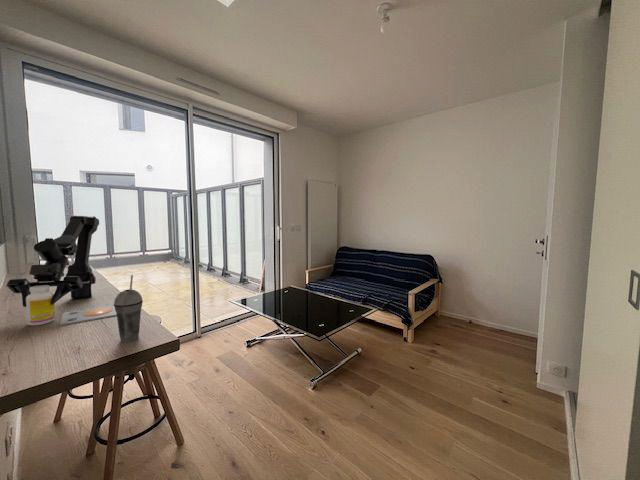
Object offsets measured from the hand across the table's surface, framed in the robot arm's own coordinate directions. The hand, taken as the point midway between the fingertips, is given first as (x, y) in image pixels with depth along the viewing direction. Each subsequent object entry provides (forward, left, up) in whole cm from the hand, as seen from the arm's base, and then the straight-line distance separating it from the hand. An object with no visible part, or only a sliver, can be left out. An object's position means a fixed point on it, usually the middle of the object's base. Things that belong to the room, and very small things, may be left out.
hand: (38, 305), depth 88 cm
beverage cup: (-22, +33, -7) cm, 40 cm away
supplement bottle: (0, -1, -7) cm, 7 cm away
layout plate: (-13, 0, -7) cm, 15 cm away
